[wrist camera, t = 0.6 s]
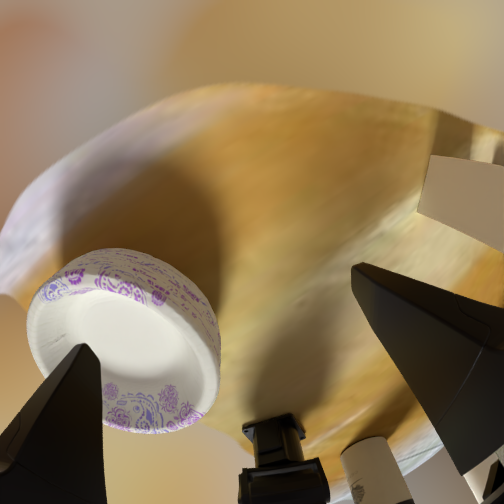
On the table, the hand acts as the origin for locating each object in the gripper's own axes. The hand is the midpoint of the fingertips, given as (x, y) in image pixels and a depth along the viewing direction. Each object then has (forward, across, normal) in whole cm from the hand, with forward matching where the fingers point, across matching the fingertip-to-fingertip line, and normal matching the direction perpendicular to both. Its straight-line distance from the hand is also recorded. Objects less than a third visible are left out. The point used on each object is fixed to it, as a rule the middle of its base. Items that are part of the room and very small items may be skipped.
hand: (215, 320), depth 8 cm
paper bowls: (+14, +9, +9) cm, 19 cm away
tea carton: (+12, -21, +4) cm, 25 cm away
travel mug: (+7, -12, +42) cm, 44 cm away
